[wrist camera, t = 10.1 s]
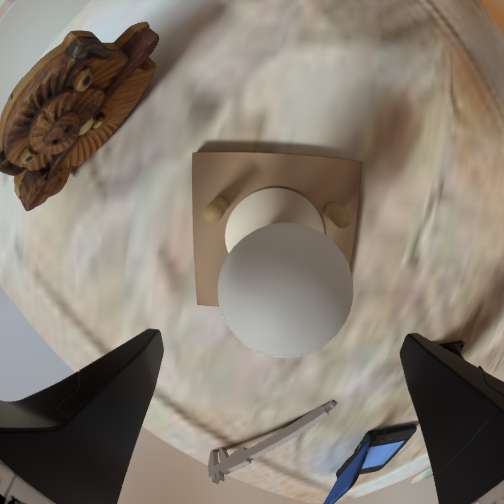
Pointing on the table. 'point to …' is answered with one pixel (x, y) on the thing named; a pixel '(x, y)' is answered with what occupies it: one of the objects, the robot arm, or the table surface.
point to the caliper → (262, 445)
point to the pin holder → (266, 203)
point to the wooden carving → (71, 107)
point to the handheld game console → (370, 457)
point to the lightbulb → (285, 290)
